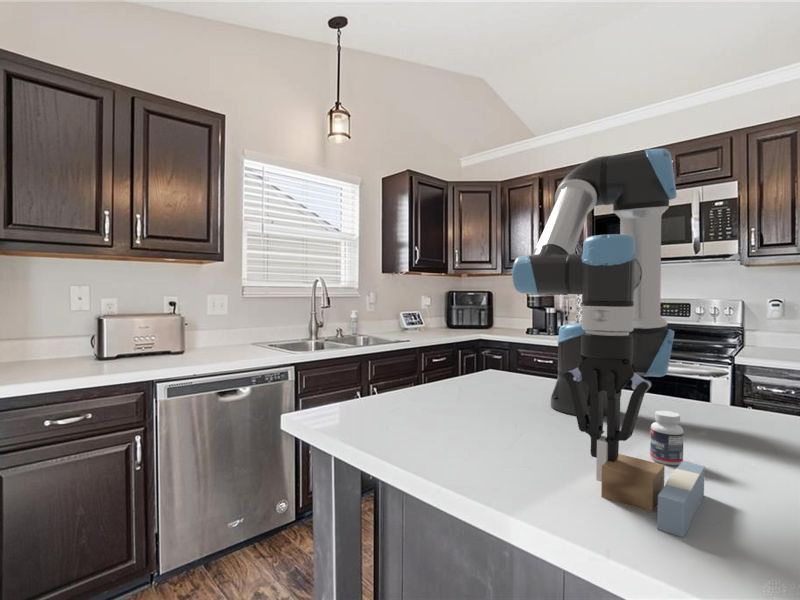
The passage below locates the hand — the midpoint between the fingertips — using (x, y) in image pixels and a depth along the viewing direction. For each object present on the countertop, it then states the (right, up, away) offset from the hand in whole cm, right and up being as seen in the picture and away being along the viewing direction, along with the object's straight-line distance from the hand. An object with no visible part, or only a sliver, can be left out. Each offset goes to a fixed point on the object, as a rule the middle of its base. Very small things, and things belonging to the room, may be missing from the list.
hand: (603, 478), depth 71 cm
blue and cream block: (+8, -2, -7) cm, 11 cm away
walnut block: (+3, -2, -3) cm, 4 cm away
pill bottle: (+17, -2, +12) cm, 21 cm away
